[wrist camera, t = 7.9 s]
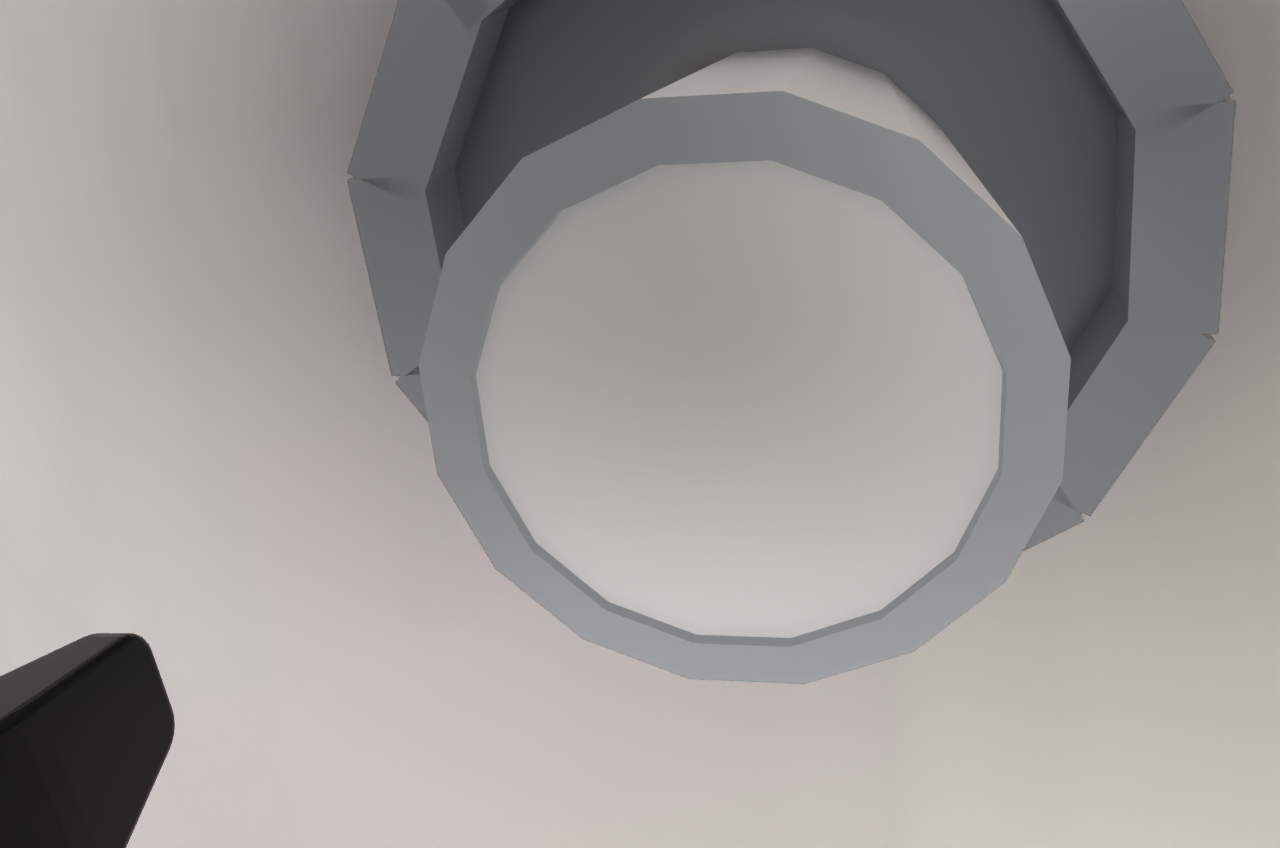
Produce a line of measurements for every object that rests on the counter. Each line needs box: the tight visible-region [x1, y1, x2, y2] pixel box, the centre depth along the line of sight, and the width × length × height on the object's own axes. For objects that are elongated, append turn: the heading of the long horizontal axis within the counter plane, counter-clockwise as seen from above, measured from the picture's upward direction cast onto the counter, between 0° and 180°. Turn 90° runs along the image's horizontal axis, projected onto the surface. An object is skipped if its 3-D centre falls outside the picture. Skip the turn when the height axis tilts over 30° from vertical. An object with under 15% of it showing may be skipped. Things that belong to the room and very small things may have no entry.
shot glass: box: [418, 48, 1071, 684], centre depth 16 cm, size 7×7×7 cm
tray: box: [347, 0, 1236, 552], centre depth 18 cm, size 12×12×2 cm
